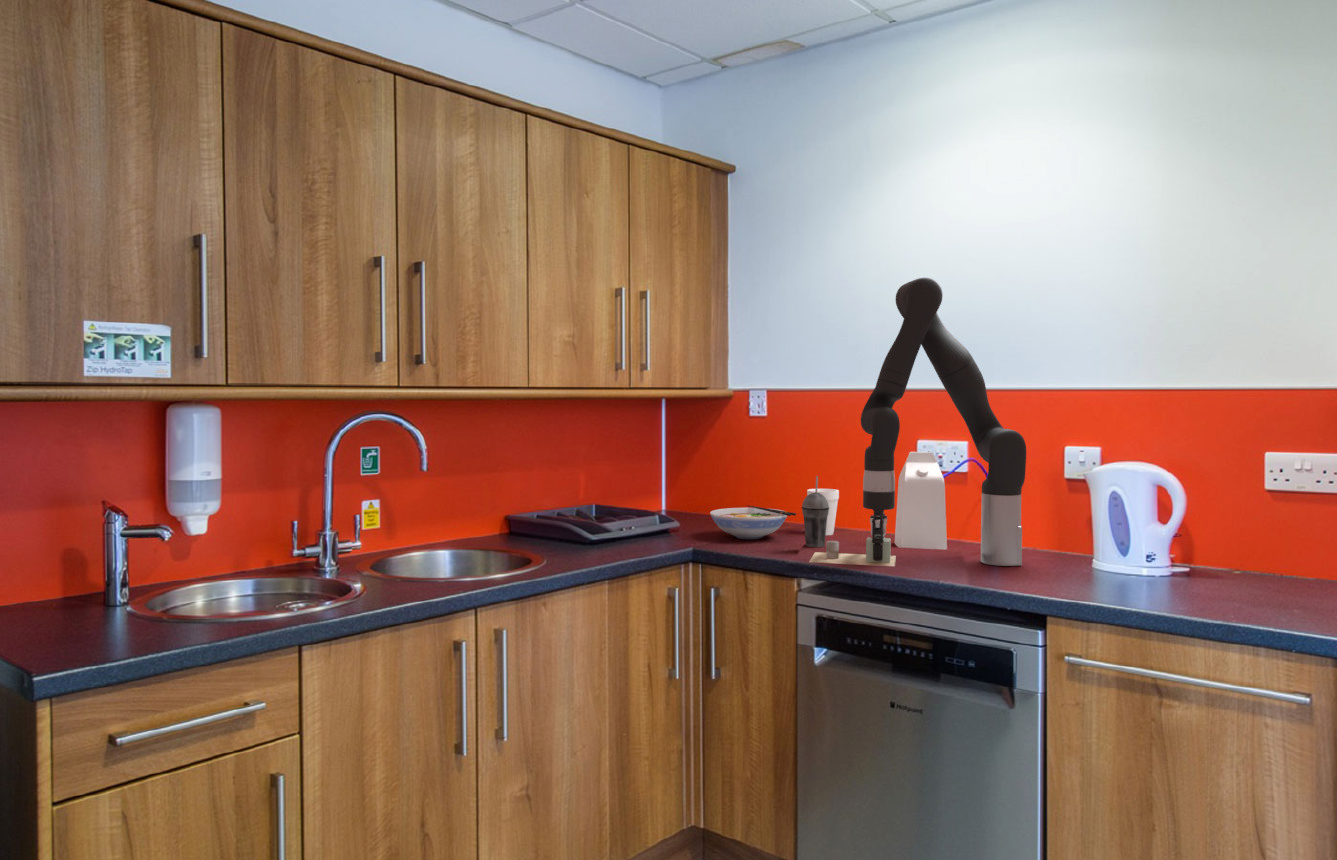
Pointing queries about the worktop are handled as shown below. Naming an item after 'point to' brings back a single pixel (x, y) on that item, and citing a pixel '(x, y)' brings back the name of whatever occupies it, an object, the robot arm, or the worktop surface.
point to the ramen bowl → (749, 521)
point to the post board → (844, 557)
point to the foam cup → (832, 500)
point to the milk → (921, 504)
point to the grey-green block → (885, 550)
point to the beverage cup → (815, 518)
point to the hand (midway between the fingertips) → (878, 557)
